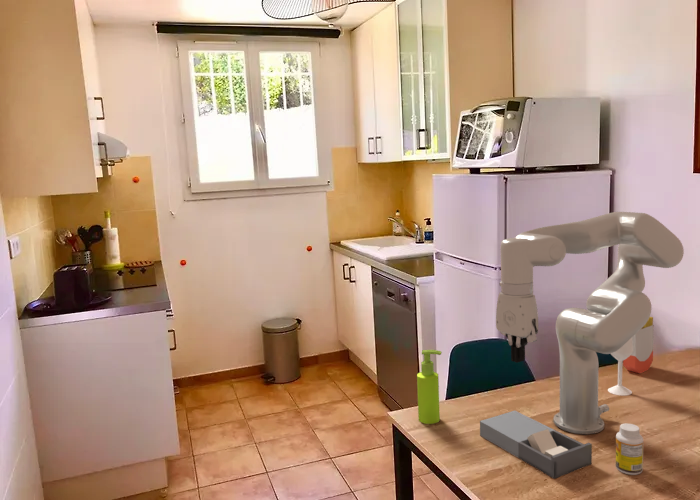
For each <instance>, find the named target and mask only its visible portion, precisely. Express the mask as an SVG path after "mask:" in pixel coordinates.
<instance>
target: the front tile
mask: <svg viewBox="0 0 700 500" xmlns="http://www.w3.org/2000/svg"><path fill="white" fill-rule="evenodd" d="M567 450H568V449H566V448H564V447H562V446H558V447H555V448H552V449H550V450H547V451H545V455H546V456H548V457H550V458H551V456H553V455H556V454H559V453H562V452H564V451H567Z"/></svg>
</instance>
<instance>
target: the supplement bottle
mask: <svg viewBox="0 0 700 500" xmlns="http://www.w3.org/2000/svg"><path fill="white" fill-rule="evenodd" d="M640 433H641V431H640V427H639V426H638V425H636V424H634V423H629V422H628V423H622V424H620V425H619V431H618V432H617V433H616V435H615V467H616V469H617V470H618V471H619V472H621V473H623V474H626V475H629V476H630V475H631V476H636V475H639V474H641V473H642V472H643V470H644V437H643V436H642V435H641V434H640Z"/></svg>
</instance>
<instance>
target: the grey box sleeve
mask: <svg viewBox="0 0 700 500" xmlns="http://www.w3.org/2000/svg"><path fill="white" fill-rule="evenodd" d="M547 429H548V430H549V432H550V434H551V436H552V437H553V431H554V430H555V429H553V428H551V427H549V426H547V425H545V424H543V423H541V422H539V421H537V420H536V419H533V418H531V417H529V416H527V415H525V414H523V413H521V412H519V411H517V410H512V411H509V412H505V413H502V414H499V415H495V416H492V417H489V418H485V419H483V420H482V419H481V420H479V436H480V437H481V438H483V439H485V440H487V441H489V442H490V443H492V444H493V445H495V446H497V447H499V448H501V449H502V450H504V451H506V452H507V453H509V454H510V455H513V456H514V457H516V458H518V459H519V452H518V442H523V443H525V444H526V445H528V446H530V447H531V445H530V443H529V441H528V439H527V437H529V436H530V435H532V434H534V433H537V432H540V431H543V430H547Z"/></svg>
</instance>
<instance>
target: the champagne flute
mask: <svg viewBox="0 0 700 500" xmlns="http://www.w3.org/2000/svg"><path fill="white" fill-rule="evenodd" d="M632 352H633V345H632V338H631V339H630V340H628V341H627V342H626V343H625V344H624V345H623V346H622V347H621V348H620V349H618V350H617V351H615V352H613V353H610V355H611V356H612V358H614V359H615V360H617V384H616V385H614V386H611V387H609V388H607V392H609V393H610V394H611V395H612V394H613V395H616V396H630V395H632V393H633V391H632V390H631V389H629V388H627V387H626V386H624V385H623V360H625V359H627V358H628V357H629V356H630V355H631V354H632Z"/></svg>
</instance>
